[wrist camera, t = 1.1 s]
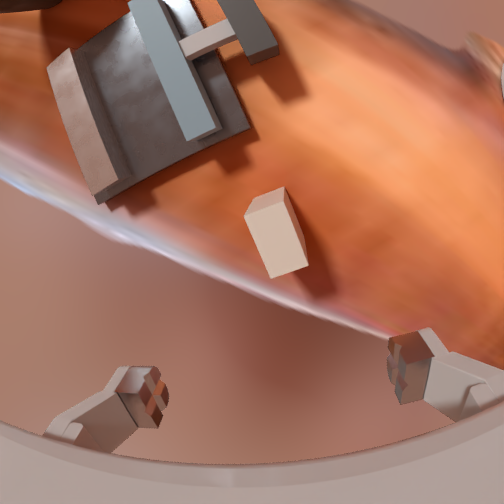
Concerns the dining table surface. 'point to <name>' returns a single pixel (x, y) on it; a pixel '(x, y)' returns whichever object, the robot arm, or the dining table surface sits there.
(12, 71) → the dining table surface
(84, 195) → the dining table surface
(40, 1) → the plant pot
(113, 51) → the vise bed
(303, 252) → the block
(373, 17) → the dining table surface
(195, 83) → the vise jaw
